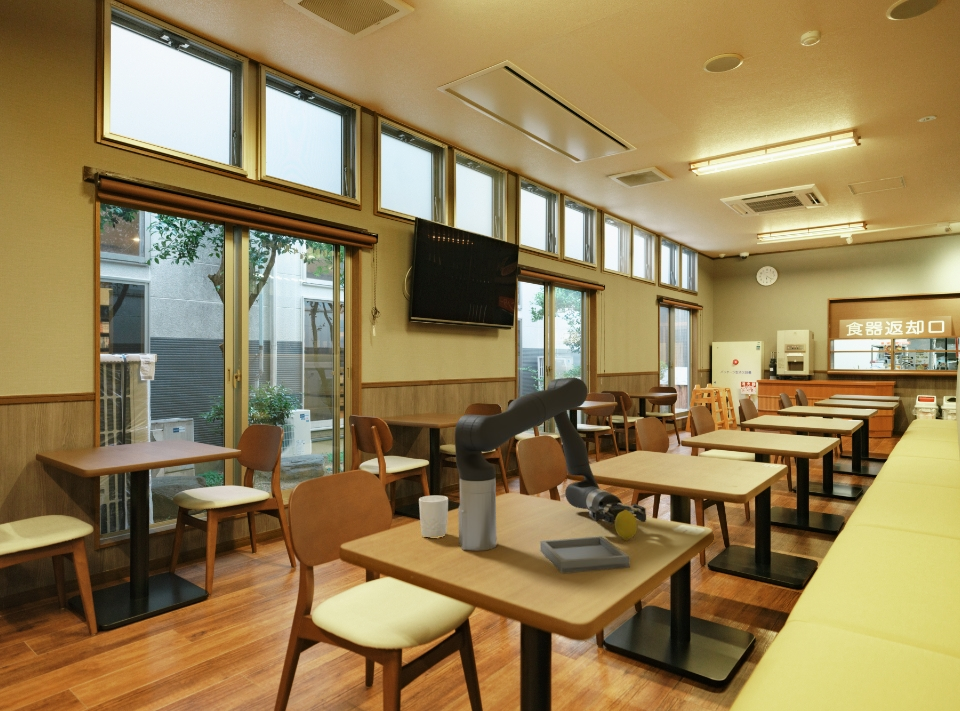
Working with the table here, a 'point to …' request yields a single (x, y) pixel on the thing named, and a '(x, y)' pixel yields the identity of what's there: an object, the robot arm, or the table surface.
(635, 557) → the table surface
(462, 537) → the robot arm
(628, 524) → the lemon
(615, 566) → the tray
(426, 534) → the white cup
